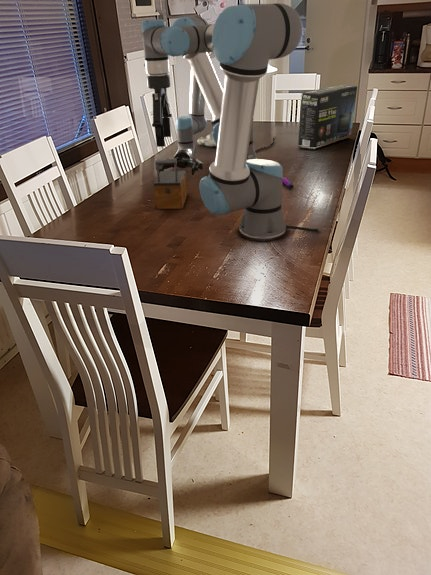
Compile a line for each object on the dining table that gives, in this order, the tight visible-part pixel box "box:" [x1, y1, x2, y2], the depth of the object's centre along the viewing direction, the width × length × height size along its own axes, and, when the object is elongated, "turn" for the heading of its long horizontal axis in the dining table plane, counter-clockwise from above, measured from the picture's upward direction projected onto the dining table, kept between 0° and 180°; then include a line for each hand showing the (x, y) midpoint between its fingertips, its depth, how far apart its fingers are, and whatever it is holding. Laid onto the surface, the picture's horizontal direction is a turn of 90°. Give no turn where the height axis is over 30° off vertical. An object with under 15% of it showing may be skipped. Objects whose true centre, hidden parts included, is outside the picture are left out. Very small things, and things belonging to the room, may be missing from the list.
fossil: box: [196, 129, 217, 149], centre depth 250 cm, size 18×11×15 cm
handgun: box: [283, 176, 294, 190], centre depth 191 cm, size 21×8×2 cm, turn 11°
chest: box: [154, 174, 188, 210], centre depth 174 cm, size 14×10×9 cm
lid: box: [153, 158, 186, 187], centre depth 169 cm, size 15×10×9 cm, turn 176°
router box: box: [297, 84, 358, 151], centre depth 238 cm, size 36×11×27 cm, turn 134°
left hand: (176, 172), depth 189 cm, fingers open, 13 cm apart
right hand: (164, 141), depth 159 cm, fingers open, 13 cm apart
